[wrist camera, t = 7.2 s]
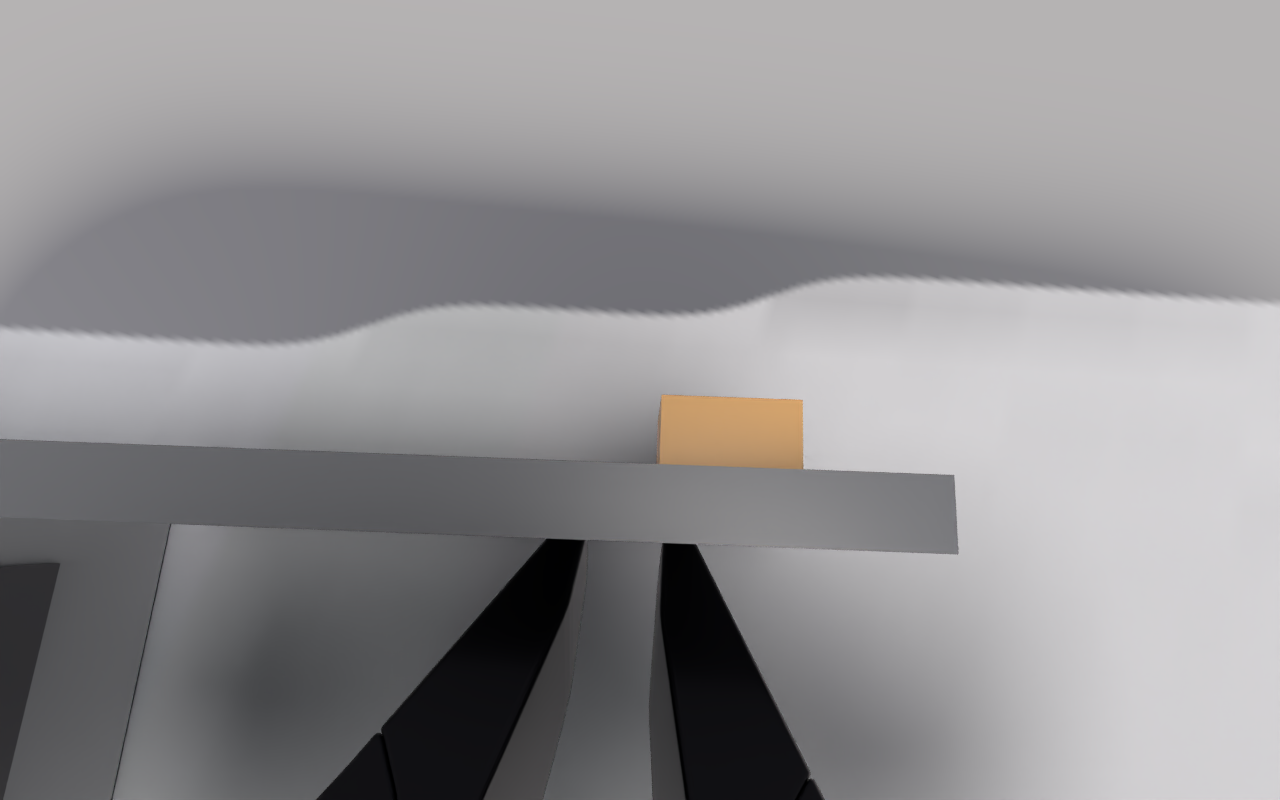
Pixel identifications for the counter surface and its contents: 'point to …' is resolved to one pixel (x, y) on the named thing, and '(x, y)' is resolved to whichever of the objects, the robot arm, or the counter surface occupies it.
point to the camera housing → (71, 650)
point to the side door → (509, 488)
